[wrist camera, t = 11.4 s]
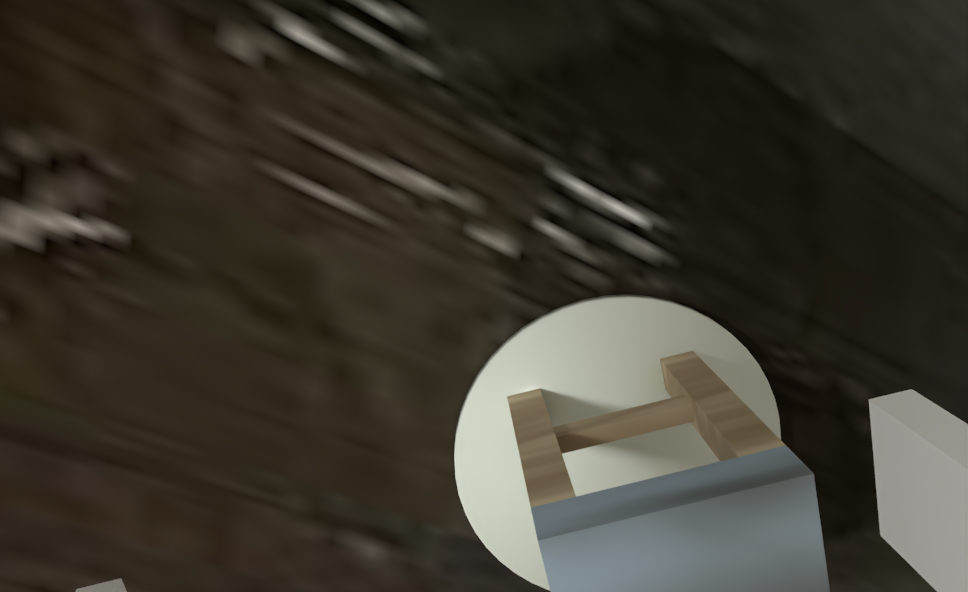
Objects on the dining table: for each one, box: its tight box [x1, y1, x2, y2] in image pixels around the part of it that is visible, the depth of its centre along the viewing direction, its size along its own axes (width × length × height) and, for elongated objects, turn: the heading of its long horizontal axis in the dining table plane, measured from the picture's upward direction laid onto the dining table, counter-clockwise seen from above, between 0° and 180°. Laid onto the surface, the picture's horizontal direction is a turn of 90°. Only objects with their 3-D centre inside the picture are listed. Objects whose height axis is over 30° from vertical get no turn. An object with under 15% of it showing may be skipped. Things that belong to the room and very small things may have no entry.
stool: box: [507, 351, 830, 592], centre depth 31 cm, size 9×9×12 cm
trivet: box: [454, 294, 781, 590], centre depth 37 cm, size 16×16×1 cm
